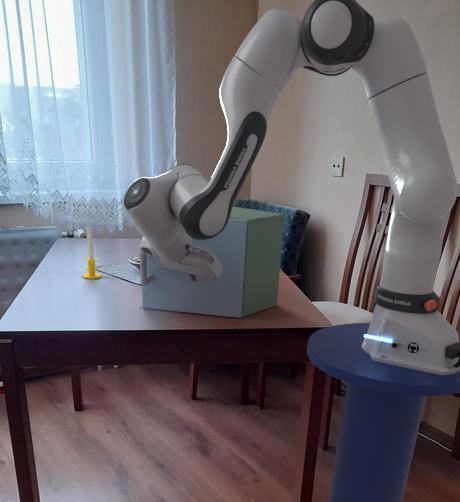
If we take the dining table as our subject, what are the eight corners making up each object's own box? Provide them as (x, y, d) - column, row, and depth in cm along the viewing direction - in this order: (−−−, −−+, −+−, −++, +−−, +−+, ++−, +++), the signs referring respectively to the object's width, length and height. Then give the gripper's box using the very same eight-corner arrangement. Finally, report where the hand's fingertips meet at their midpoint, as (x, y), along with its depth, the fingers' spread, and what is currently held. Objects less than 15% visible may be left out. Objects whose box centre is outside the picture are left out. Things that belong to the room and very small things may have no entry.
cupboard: (242, 317, 142) (248, 219, 131) (168, 296, 155) (168, 206, 144) (276, 305, 153) (284, 214, 142) (204, 286, 167) (207, 202, 156)
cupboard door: (237, 324, 136) (242, 223, 125) (135, 313, 140) (133, 215, 129) (241, 316, 141) (247, 220, 131) (143, 306, 145) (141, 211, 134)
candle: (103, 275, 173) (100, 223, 166) (97, 279, 168) (94, 226, 161) (86, 274, 173) (83, 222, 166) (81, 278, 169) (77, 225, 162)
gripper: (214, 238, 121) (237, 276, 132) (146, 225, 131) (173, 261, 143) (200, 261, 119) (225, 298, 131) (133, 246, 130) (161, 281, 141)
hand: (197, 279), depth 137 cm, fingers closed
